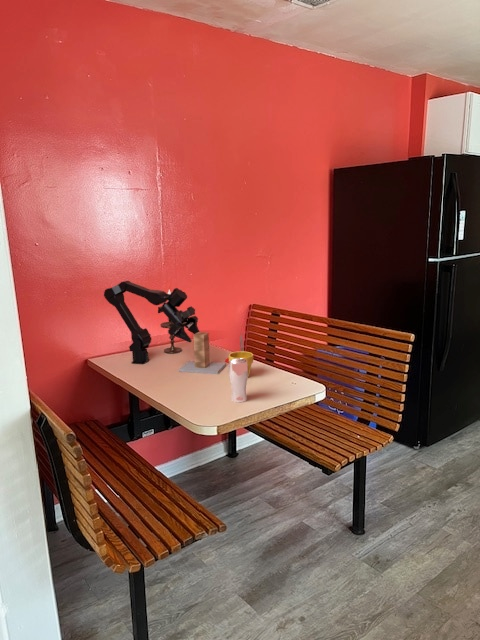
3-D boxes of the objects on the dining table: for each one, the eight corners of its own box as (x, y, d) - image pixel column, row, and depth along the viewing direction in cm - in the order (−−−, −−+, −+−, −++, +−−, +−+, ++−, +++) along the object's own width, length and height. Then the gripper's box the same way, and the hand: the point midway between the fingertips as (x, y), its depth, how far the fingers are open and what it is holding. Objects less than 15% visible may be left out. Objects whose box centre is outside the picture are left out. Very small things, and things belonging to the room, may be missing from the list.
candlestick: (186, 348, 248) (182, 281, 241) (179, 354, 238) (175, 284, 231) (166, 348, 251) (162, 281, 243) (158, 353, 241) (154, 284, 233)
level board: (179, 371, 212) (178, 369, 212) (189, 363, 223) (189, 361, 223) (217, 374, 207) (217, 371, 207) (225, 365, 219) (225, 363, 218)
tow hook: (224, 364, 222) (244, 363, 221) (222, 337, 219) (242, 336, 218) (225, 359, 230) (245, 358, 229) (223, 333, 227) (243, 332, 227)
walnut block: (195, 367, 214) (193, 334, 210) (200, 364, 218) (198, 332, 215) (205, 368, 212) (203, 335, 209) (209, 365, 216) (208, 332, 213)
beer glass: (229, 396, 181) (228, 358, 178) (247, 395, 182) (246, 357, 179) (230, 403, 175) (229, 364, 171) (249, 402, 175) (248, 363, 172)
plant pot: (258, 377, 201) (257, 355, 199) (236, 382, 196) (236, 359, 194) (246, 371, 210) (245, 349, 208) (225, 375, 205) (224, 353, 203)
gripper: (172, 305, 204) (196, 332, 202) (193, 298, 220) (216, 323, 218) (158, 322, 208) (181, 349, 206) (179, 314, 225) (201, 338, 223)
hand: (195, 339), depth 213 cm, fingers open, 9 cm apart
